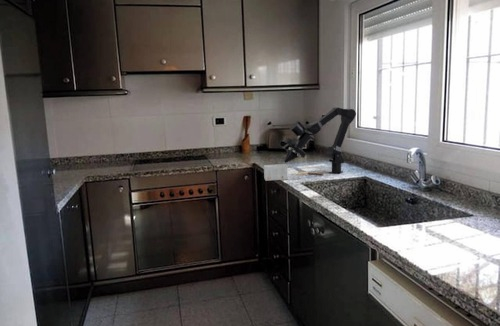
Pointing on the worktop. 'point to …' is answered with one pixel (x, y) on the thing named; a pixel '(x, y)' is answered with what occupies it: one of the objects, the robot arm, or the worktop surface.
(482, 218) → the worktop surface
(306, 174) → the wooden turner
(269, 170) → the small box
